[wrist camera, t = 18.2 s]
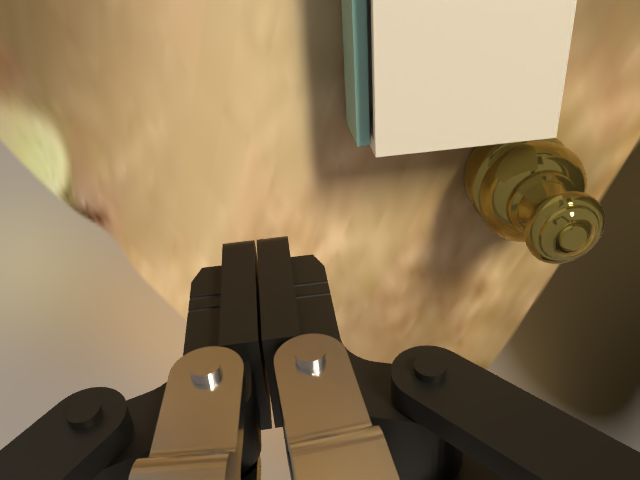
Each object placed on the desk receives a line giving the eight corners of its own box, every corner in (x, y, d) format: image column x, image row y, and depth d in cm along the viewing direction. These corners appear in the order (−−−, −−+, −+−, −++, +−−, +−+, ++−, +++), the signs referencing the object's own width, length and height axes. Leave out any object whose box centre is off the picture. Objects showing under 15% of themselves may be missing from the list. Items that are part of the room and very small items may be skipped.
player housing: (350, -115, 34) (370, -113, 29) (543, -131, 34) (596, -131, 29) (358, 122, 41) (375, 157, 36) (517, 105, 42) (556, 137, 37)
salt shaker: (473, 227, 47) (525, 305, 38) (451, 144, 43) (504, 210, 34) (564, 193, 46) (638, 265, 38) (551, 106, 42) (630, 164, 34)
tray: (336, -110, 33) (348, -108, 30) (527, -125, 34) (561, -125, 30) (346, 122, 40) (357, 146, 37) (504, 106, 41) (529, 128, 38)
